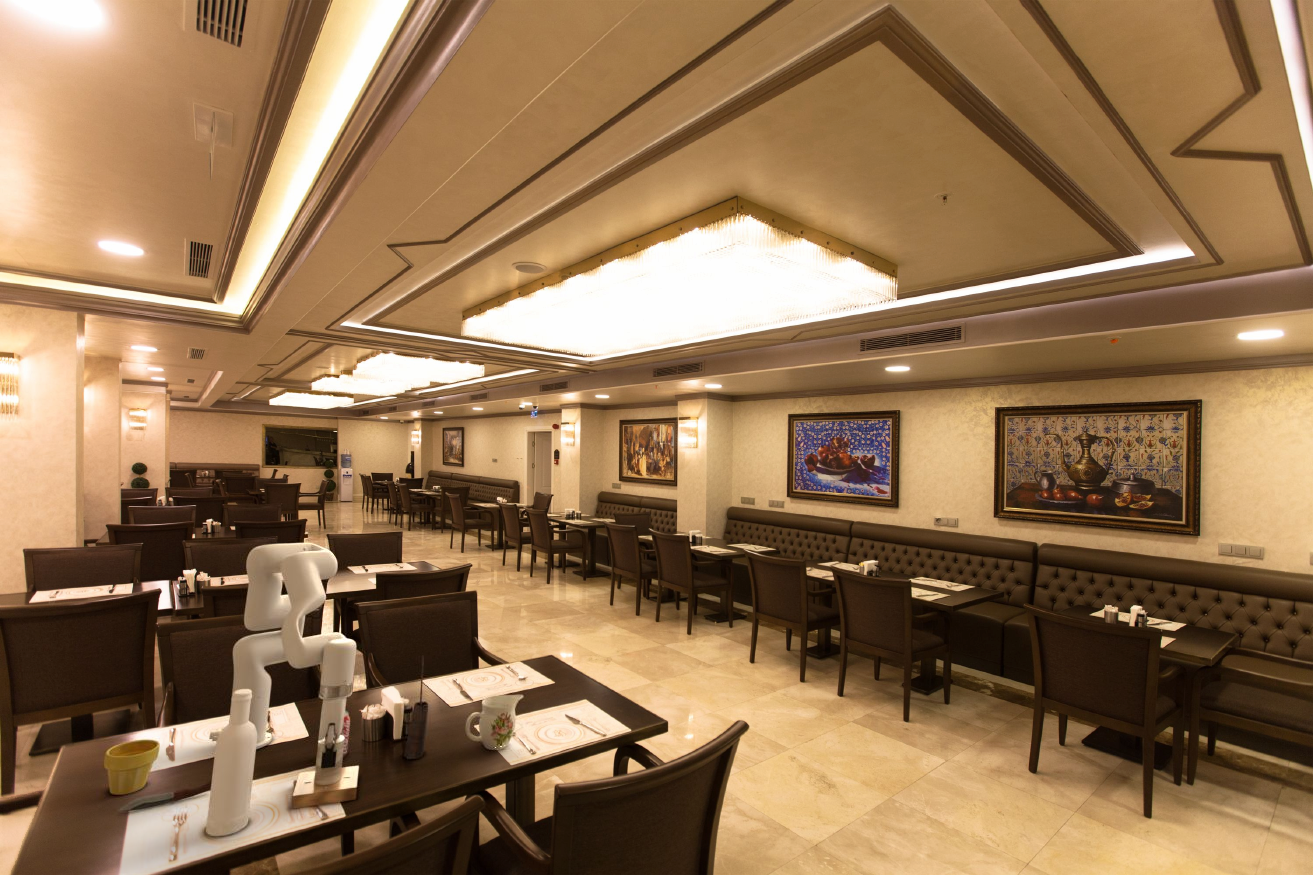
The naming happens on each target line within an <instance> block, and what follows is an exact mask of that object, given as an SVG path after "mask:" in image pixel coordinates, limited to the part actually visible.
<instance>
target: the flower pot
mask: <svg viewBox="0 0 1313 875" xmlns="http://www.w3.org/2000/svg"><path fill="white" fill-rule="evenodd" d="M160 745H161V743H160V742H159V741H158V740H155V739H136V740H131V741H125V742H122V743H119V744H116V745H114V746H112V747H110V748H109V749H107V750H106V751H105V756H104V760H103V767H104V769H106V770H107V771H106V772H107V779H108V787H109V793H110V794H111V795H115V796H118V795H121V796H122V795H128V794H131V793H135V792H137V791H139V790H141V789H143V788H144V787H145V785H146V783H147V781H148V778H149V776H150V772H151V769H152V767H153V764H154V762H155V761H156V760H157V759H158V758H159V752H160Z"/></svg>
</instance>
